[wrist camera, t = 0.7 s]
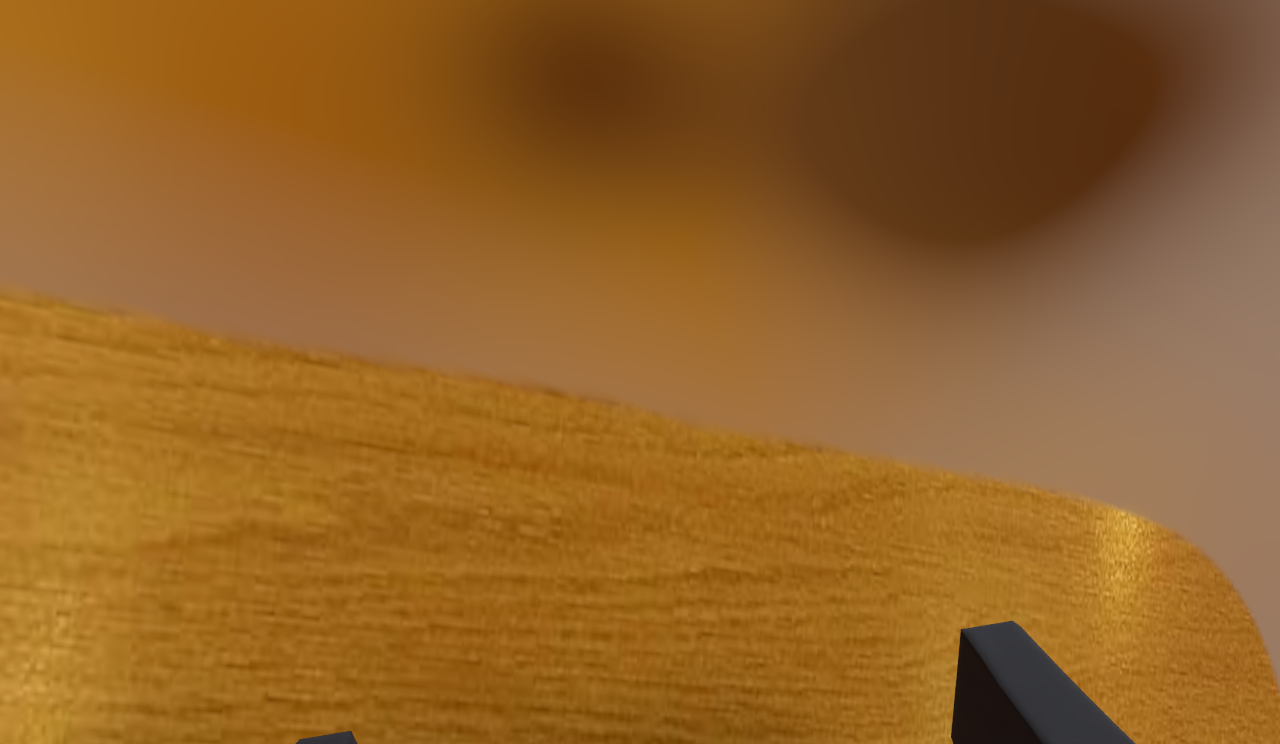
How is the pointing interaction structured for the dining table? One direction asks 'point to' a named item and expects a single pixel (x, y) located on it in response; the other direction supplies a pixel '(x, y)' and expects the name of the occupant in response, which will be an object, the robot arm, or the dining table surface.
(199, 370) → the dining table surface
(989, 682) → the robot arm
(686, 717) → the dining table surface
